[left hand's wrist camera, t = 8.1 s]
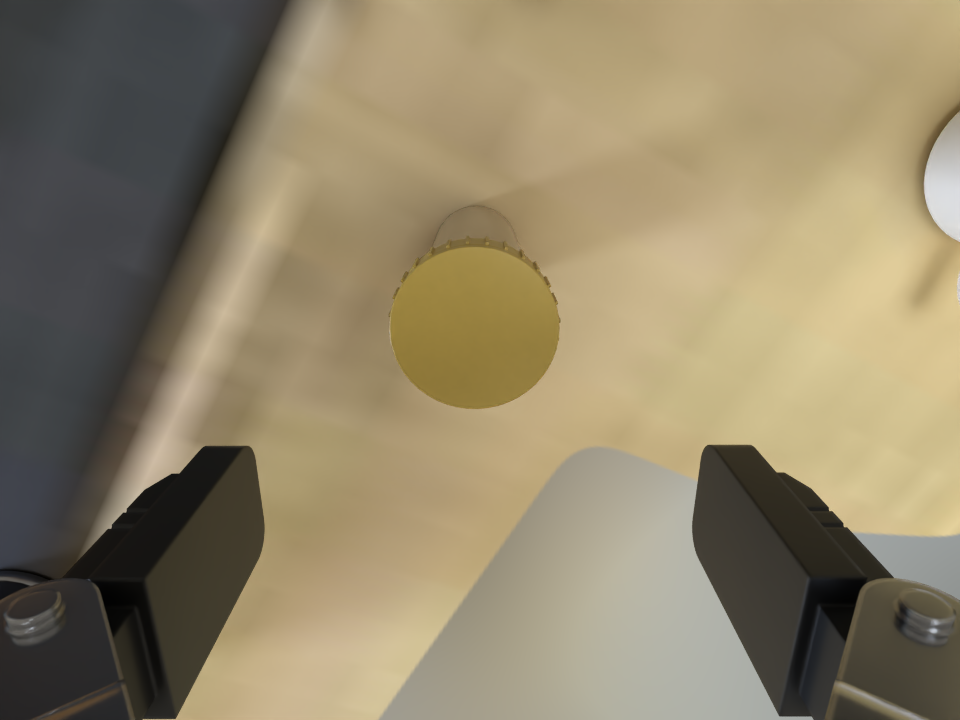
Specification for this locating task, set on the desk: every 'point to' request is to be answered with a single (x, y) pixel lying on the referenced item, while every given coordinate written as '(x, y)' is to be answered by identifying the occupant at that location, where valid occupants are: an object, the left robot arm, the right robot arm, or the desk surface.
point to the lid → (474, 323)
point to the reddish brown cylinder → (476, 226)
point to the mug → (945, 182)
